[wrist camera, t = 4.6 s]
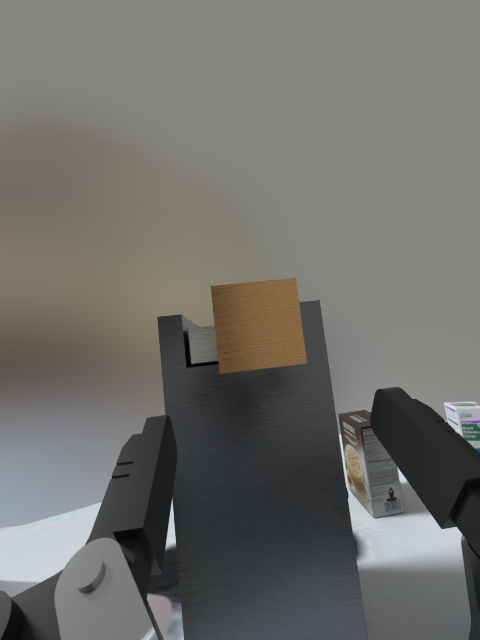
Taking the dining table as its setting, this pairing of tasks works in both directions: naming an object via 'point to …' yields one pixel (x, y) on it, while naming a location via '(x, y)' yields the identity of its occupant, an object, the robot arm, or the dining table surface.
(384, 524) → the dining table surface
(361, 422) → the coffee box
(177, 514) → the small grey cabinet
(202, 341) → the wooden handled hammer
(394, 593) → the dining table surface
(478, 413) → the drink carton
